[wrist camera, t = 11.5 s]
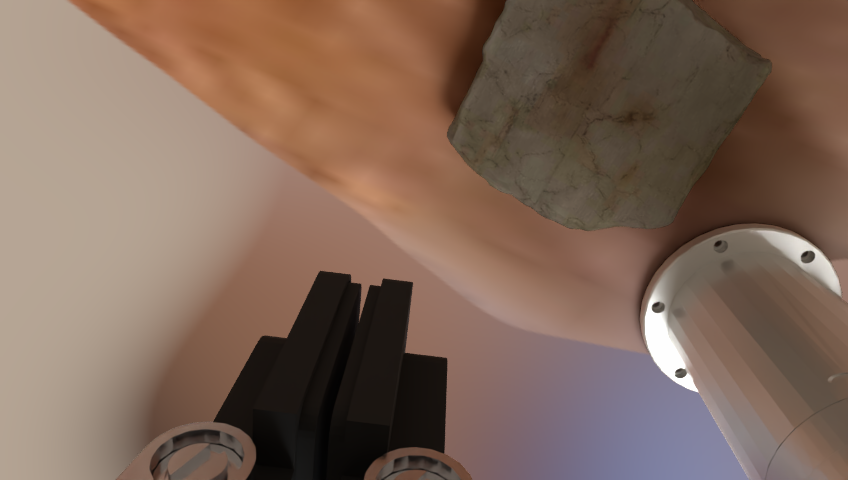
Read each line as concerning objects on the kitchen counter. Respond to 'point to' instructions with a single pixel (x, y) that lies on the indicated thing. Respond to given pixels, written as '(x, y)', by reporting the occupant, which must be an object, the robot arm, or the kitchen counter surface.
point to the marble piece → (604, 107)
